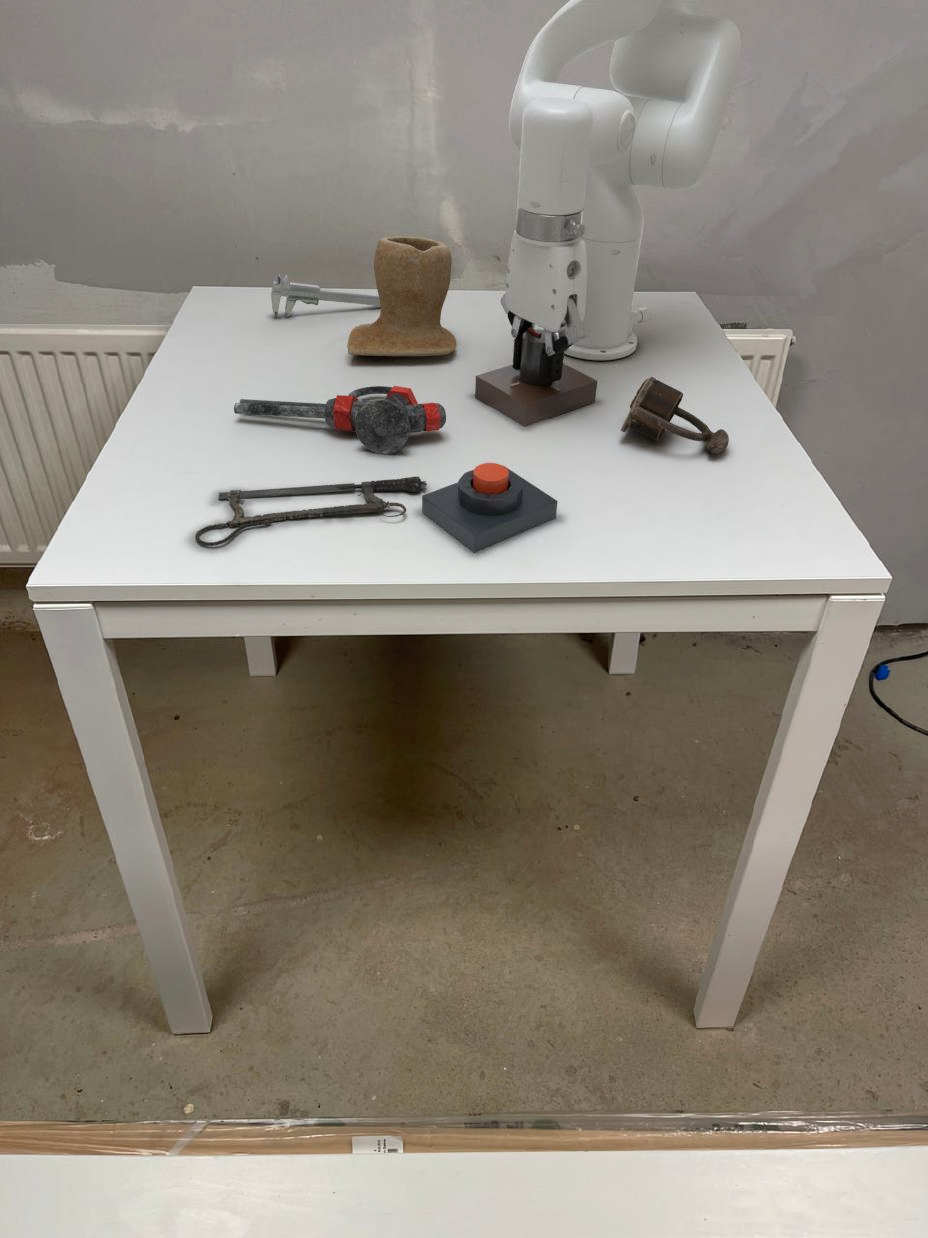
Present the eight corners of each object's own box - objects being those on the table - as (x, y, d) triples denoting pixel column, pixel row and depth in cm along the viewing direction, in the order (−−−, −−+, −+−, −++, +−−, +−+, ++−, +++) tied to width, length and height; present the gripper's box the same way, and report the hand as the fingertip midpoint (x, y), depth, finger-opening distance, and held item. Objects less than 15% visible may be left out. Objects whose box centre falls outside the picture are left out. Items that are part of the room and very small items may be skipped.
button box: (502, 482, 100) (504, 450, 98) (556, 518, 95) (559, 485, 92) (421, 513, 95) (421, 480, 92) (474, 553, 90) (475, 519, 87)
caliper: (274, 319, 135) (269, 276, 131) (273, 316, 136) (268, 274, 132) (405, 306, 140) (404, 265, 136) (403, 304, 141) (402, 263, 137)
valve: (460, 418, 116) (437, 459, 103) (268, 406, 119) (223, 444, 107) (460, 368, 112) (437, 405, 100) (263, 358, 116) (216, 391, 103)
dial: (560, 379, 114) (565, 335, 110) (534, 388, 112) (538, 343, 108) (538, 367, 117) (542, 323, 113) (512, 375, 115) (515, 331, 111)
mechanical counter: (660, 368, 112) (612, 373, 105) (751, 393, 104) (706, 400, 98) (648, 425, 115) (601, 433, 108) (735, 453, 107) (691, 464, 101)
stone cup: (453, 332, 133) (455, 225, 123) (458, 365, 124) (461, 254, 114) (350, 332, 132) (344, 225, 122) (347, 366, 123) (341, 253, 113)
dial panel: (544, 374, 122) (546, 352, 120) (595, 402, 116) (598, 379, 114) (474, 397, 116) (475, 374, 114) (524, 427, 110) (526, 403, 108)
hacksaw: (426, 484, 99) (426, 472, 98) (435, 536, 92) (435, 524, 91) (203, 494, 97) (201, 482, 96) (193, 549, 89) (191, 536, 88)
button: (493, 473, 95) (493, 459, 93) (514, 488, 92) (516, 473, 91) (466, 484, 93) (466, 469, 92) (487, 499, 91) (488, 484, 90)
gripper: (625, 237, 99) (604, 391, 111) (525, 200, 109) (516, 345, 121) (575, 249, 95) (559, 406, 107) (477, 210, 106) (472, 358, 117)
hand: (536, 372), depth 114 cm, fingers closed on dial, 4 cm apart
